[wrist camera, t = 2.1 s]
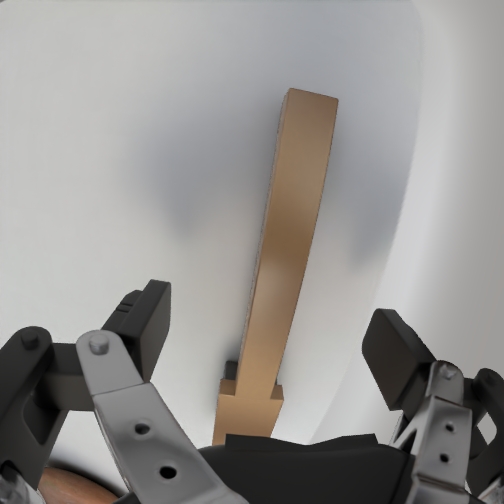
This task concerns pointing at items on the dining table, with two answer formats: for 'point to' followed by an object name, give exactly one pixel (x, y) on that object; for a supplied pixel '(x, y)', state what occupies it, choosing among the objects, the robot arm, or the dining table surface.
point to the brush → (278, 265)
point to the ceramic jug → (71, 489)
